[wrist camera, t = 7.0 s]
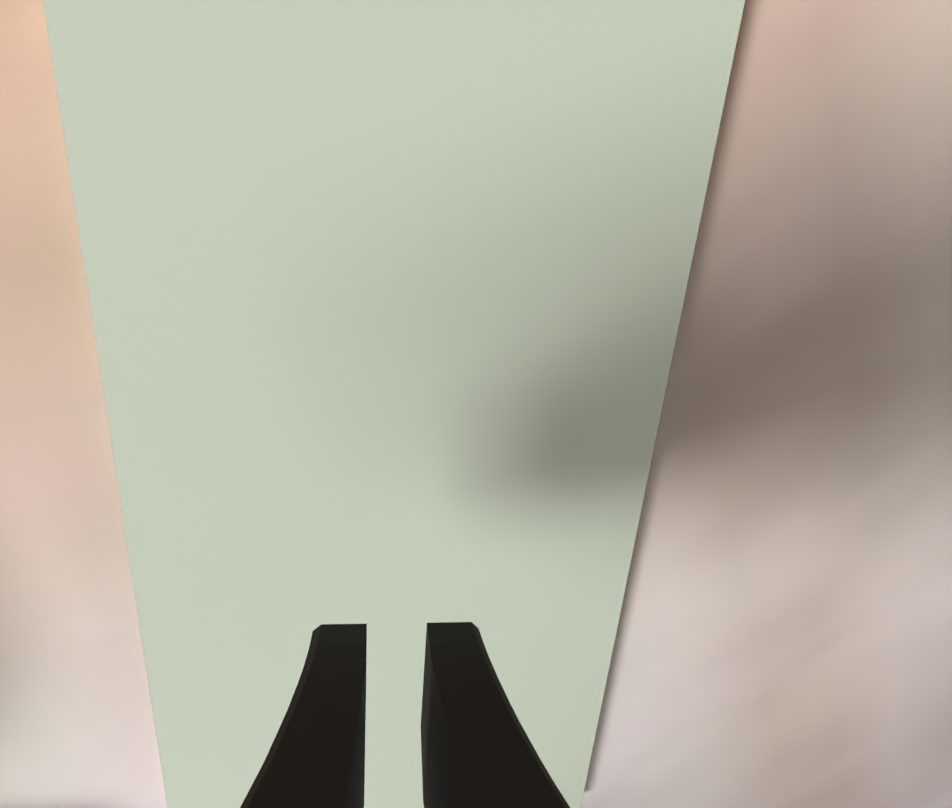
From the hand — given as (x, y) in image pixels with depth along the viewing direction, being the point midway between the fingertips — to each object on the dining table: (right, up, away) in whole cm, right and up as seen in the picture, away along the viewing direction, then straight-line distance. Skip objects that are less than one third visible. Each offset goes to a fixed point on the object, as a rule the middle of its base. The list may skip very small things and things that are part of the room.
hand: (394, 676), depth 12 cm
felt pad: (0, +2, +4) cm, 4 cm away
